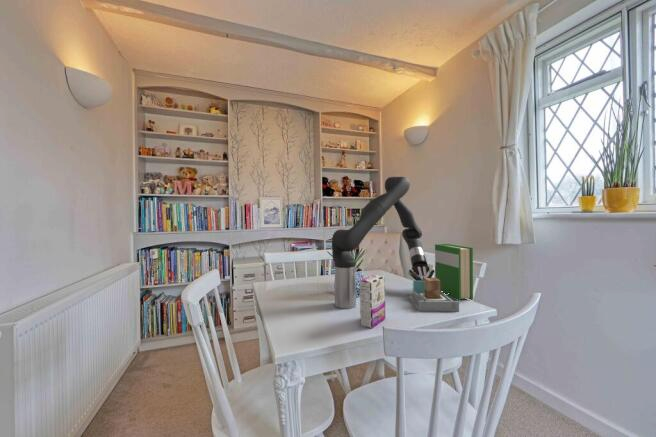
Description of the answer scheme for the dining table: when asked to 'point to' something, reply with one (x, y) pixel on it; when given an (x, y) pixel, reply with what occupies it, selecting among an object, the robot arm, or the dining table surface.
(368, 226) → the robot arm
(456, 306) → the dock
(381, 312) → the candy bar box
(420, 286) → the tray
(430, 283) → the walnut block
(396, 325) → the dining table surface
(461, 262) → the hardback book
